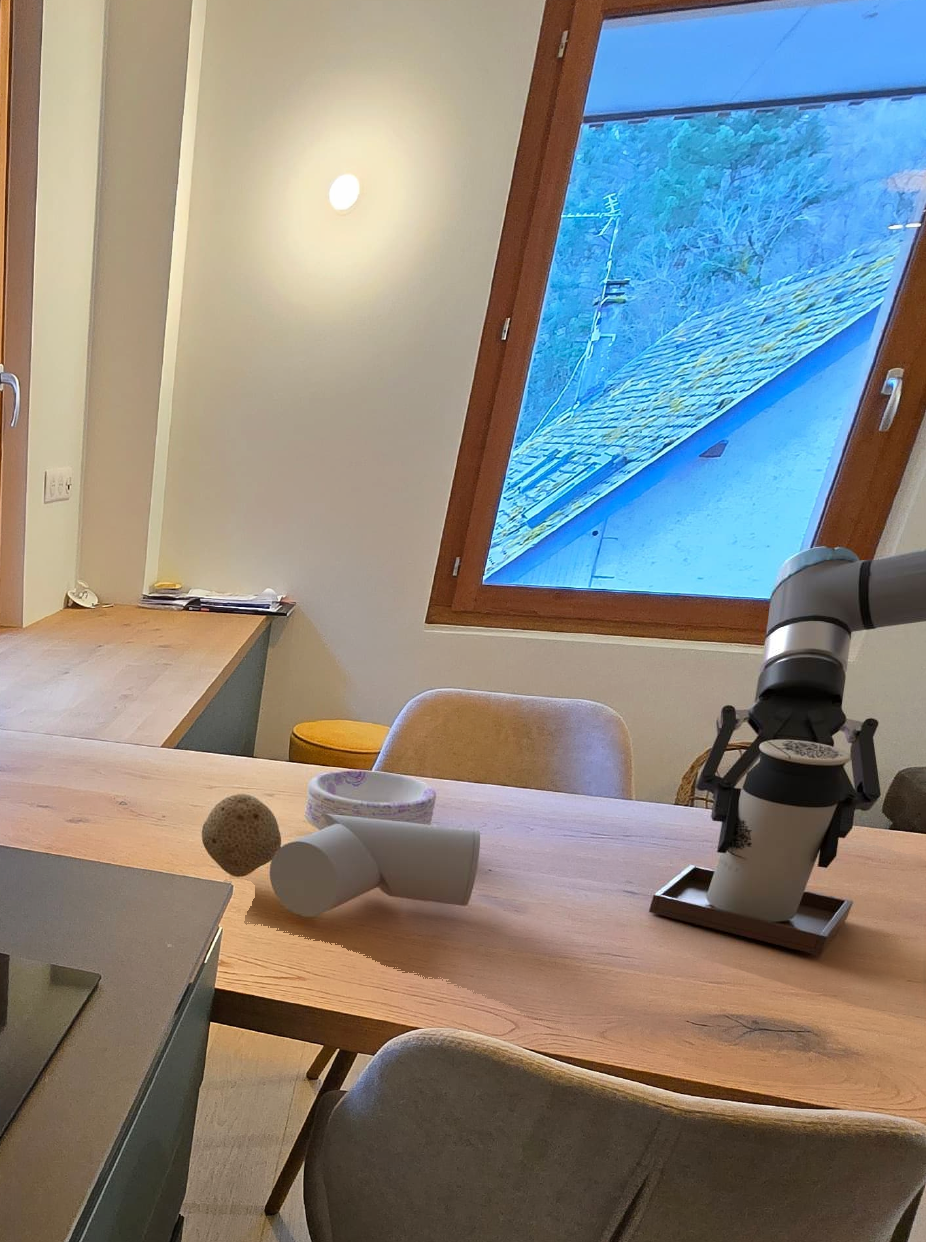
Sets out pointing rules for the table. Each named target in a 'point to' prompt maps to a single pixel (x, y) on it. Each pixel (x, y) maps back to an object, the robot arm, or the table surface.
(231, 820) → the natural sponge
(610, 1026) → the table surface
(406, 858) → the l-shaped cylinder
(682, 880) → the tray
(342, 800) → the paper bowls
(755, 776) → the travel mug
